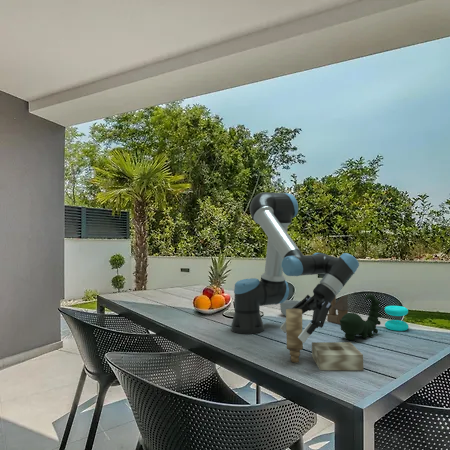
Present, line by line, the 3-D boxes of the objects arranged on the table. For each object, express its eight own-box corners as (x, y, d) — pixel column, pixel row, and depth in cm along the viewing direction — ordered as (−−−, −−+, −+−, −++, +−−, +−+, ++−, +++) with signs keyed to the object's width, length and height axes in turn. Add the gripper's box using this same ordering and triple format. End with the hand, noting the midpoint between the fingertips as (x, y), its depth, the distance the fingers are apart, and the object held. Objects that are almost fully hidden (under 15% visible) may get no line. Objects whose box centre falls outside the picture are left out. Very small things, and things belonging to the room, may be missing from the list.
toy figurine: (367, 334, 171) (330, 338, 157) (368, 292, 172) (331, 293, 159) (386, 339, 163) (348, 344, 149) (387, 295, 164) (350, 296, 151)
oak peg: (287, 364, 129) (286, 311, 130) (285, 358, 135) (284, 308, 135) (304, 364, 129) (303, 311, 129) (301, 358, 135) (300, 308, 135)
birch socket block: (320, 370, 123) (319, 354, 123) (312, 356, 137) (311, 342, 137) (363, 370, 123) (362, 354, 123) (350, 356, 137) (350, 342, 137)
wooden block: (343, 325, 181) (342, 288, 182) (327, 321, 191) (326, 285, 191) (348, 324, 183) (347, 287, 183) (332, 320, 192) (331, 285, 193)
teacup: (287, 318, 197) (286, 303, 197) (276, 314, 207) (276, 300, 207) (309, 316, 202) (308, 301, 203) (297, 312, 212) (297, 298, 212)
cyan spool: (399, 304, 180) (412, 308, 170) (399, 325, 179) (413, 331, 170) (380, 305, 178) (392, 309, 168) (380, 326, 178) (393, 332, 168)
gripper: (355, 302, 125) (317, 352, 120) (315, 291, 149) (282, 333, 144) (341, 287, 124) (302, 337, 119) (303, 278, 148) (269, 320, 143)
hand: (291, 335), depth 132 cm, fingers open, 13 cm apart
